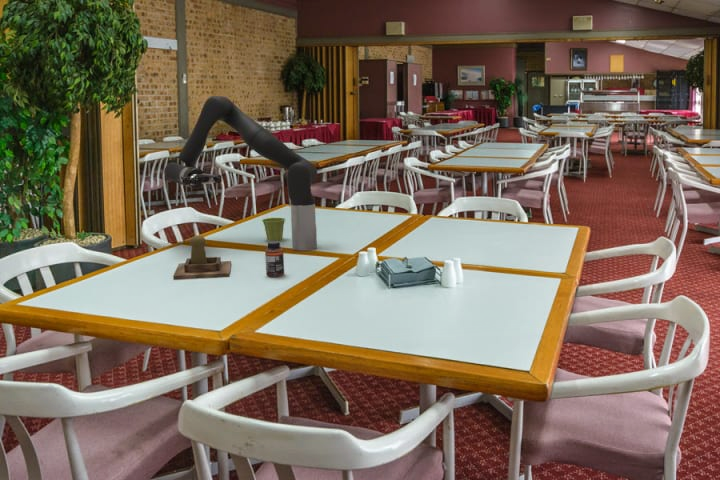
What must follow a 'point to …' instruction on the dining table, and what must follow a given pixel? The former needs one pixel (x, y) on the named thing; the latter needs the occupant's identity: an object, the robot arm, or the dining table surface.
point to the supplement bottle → (274, 259)
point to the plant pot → (274, 228)
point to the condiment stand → (203, 269)
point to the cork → (198, 250)
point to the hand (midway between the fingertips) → (208, 181)
